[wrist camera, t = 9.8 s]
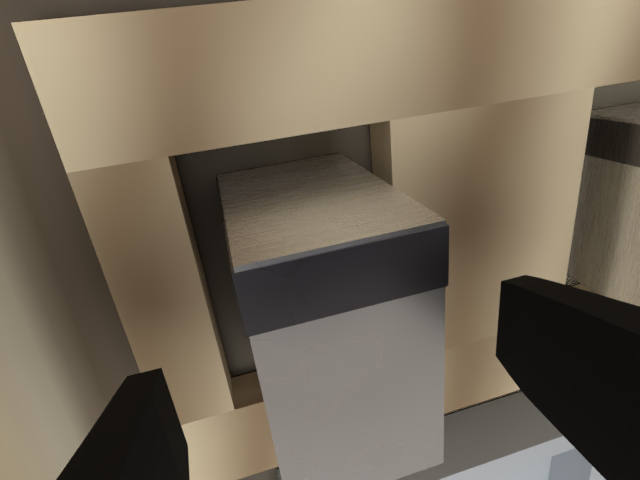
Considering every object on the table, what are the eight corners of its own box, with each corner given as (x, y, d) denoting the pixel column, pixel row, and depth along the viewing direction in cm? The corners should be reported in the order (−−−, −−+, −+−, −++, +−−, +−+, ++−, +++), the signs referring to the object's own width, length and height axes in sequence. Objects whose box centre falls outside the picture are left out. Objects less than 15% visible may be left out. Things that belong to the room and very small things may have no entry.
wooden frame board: (767, -44, 14) (828, -55, 12) (669, 312, 19) (704, 330, 18) (37, 28, 9) (10, 22, 8) (186, 458, 15) (185, 495, 14)
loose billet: (340, 152, 12) (449, 219, 7) (356, 319, 15) (446, 463, 10) (215, 174, 12) (229, 268, 6) (254, 345, 14) (287, 517, 9)
